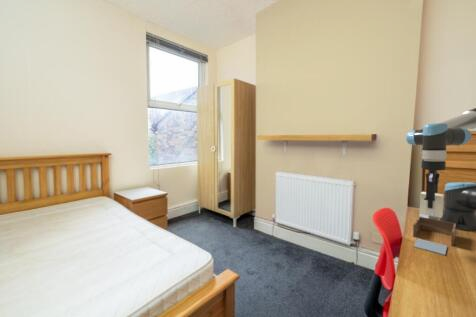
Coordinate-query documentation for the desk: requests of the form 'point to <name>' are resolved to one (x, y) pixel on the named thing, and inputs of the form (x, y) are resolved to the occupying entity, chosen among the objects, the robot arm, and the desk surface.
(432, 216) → the medicine box
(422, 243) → the felt pad
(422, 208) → the cream block
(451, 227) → the crate
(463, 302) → the desk surface
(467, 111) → the robot arm
